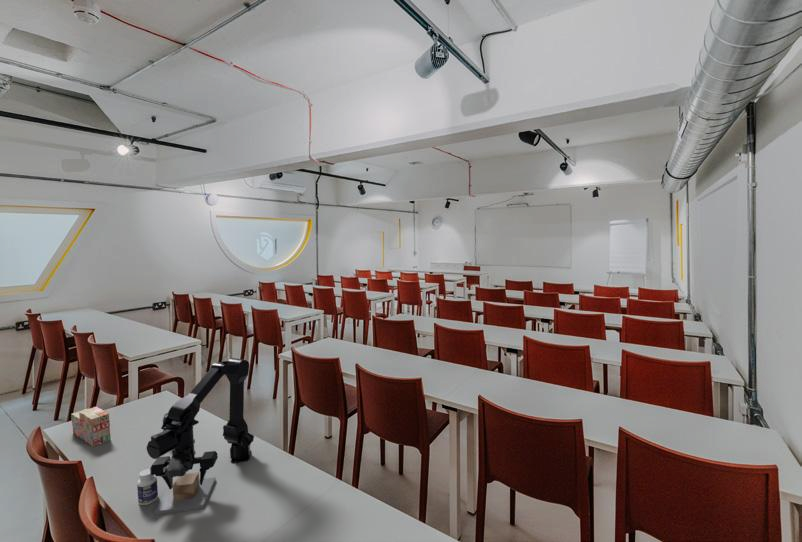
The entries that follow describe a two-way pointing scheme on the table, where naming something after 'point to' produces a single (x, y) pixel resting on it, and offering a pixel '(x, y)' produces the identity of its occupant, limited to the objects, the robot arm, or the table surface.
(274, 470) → the table surface
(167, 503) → the base plate
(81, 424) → the stack of blocks
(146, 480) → the pill bottle
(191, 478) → the tan wooden block
